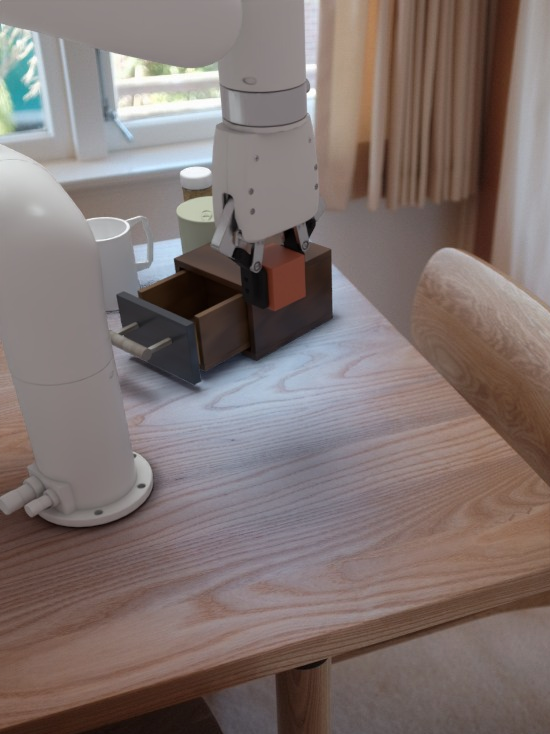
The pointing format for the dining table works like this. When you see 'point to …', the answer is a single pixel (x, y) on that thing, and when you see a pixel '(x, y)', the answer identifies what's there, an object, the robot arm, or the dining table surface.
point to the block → (283, 275)
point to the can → (196, 222)
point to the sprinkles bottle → (196, 182)
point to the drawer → (183, 324)
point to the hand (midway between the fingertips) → (274, 293)
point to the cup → (119, 256)
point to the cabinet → (267, 324)
